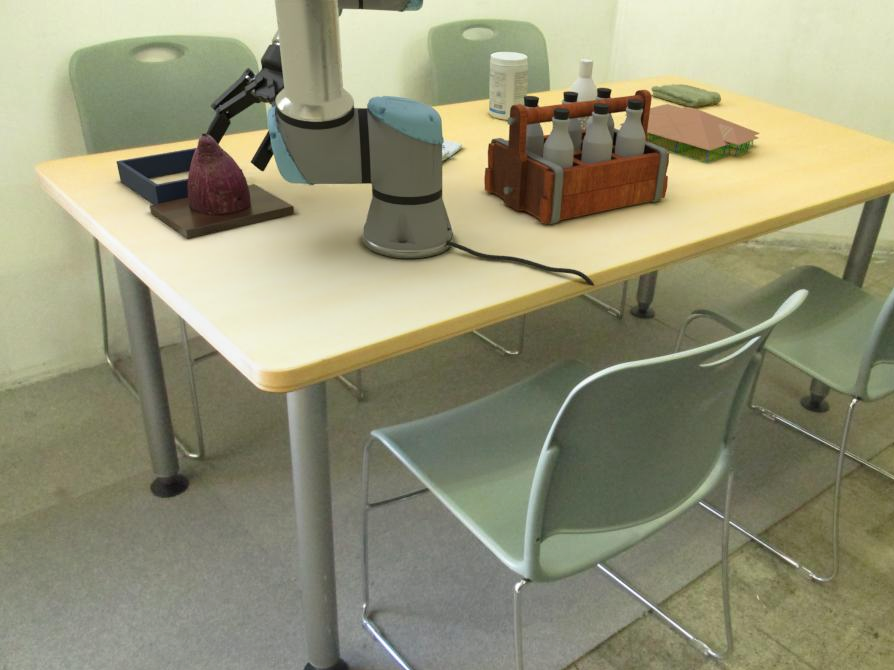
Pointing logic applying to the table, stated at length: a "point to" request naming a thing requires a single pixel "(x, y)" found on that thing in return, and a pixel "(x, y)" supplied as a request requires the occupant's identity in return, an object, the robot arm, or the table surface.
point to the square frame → (146, 167)
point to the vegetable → (216, 180)
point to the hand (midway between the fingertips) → (231, 158)
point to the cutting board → (201, 223)
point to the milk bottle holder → (577, 157)
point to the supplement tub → (507, 82)
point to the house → (697, 130)
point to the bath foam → (585, 86)
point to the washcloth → (686, 95)
